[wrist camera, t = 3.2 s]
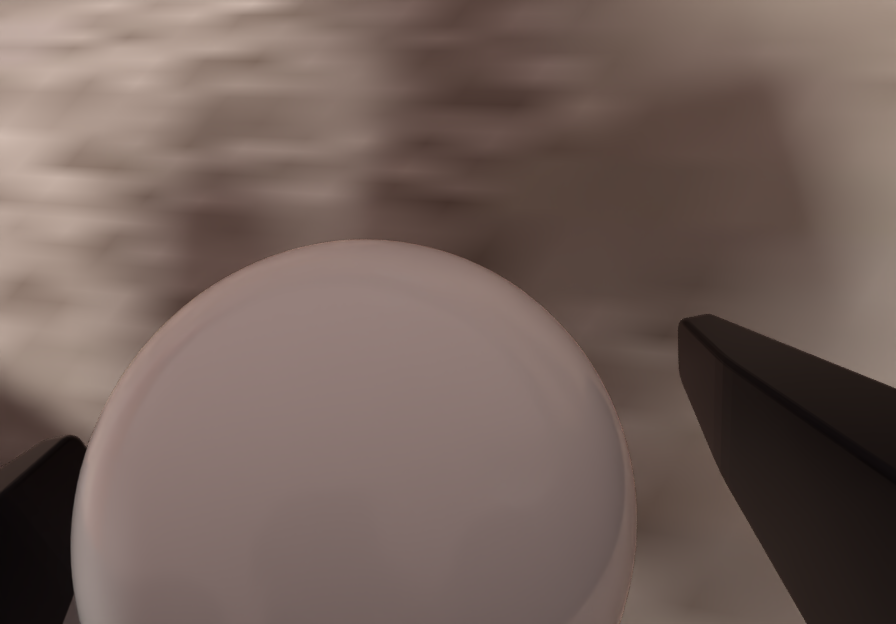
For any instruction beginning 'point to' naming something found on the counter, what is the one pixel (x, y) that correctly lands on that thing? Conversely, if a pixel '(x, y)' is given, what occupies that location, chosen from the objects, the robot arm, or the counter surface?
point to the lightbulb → (357, 455)
